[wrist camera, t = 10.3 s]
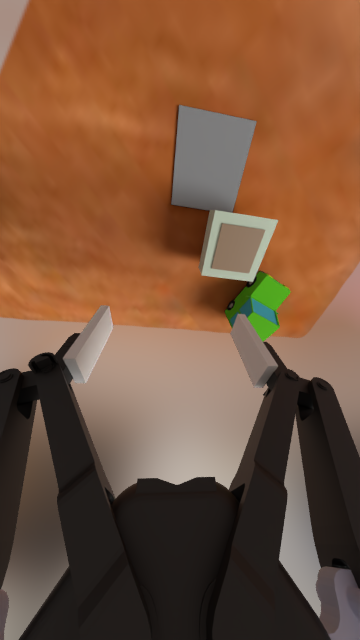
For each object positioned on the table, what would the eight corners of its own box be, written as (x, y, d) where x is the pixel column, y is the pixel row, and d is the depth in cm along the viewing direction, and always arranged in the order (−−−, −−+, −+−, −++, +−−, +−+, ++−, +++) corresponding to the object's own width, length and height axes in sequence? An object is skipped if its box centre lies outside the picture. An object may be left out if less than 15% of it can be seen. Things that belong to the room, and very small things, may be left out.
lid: (198, 267, 33) (201, 275, 29) (209, 209, 28) (215, 210, 23) (244, 273, 34) (253, 282, 30) (264, 218, 29) (279, 220, 24)
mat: (171, 204, 30) (171, 204, 30) (179, 106, 24) (179, 105, 23) (231, 214, 31) (231, 214, 31) (255, 122, 25) (256, 121, 24)
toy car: (284, 285, 40) (311, 304, 32) (248, 322, 47) (262, 346, 39) (255, 265, 37) (276, 281, 29) (220, 307, 44) (230, 330, 36)
